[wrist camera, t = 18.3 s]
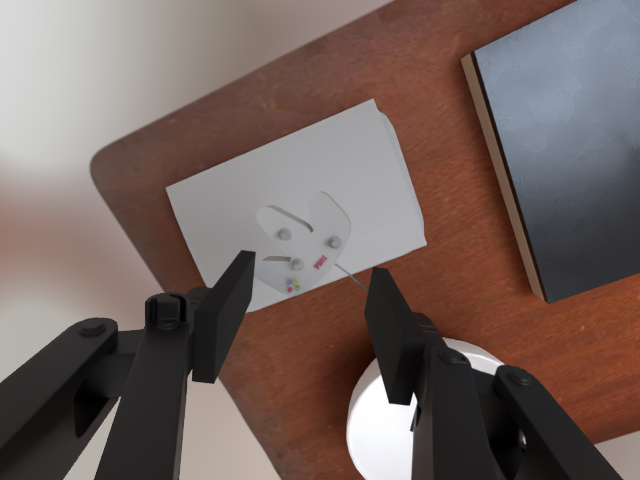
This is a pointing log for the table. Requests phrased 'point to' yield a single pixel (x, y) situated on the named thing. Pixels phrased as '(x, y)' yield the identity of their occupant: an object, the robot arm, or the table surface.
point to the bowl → (392, 420)
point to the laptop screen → (571, 139)
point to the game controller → (303, 244)
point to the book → (304, 197)
